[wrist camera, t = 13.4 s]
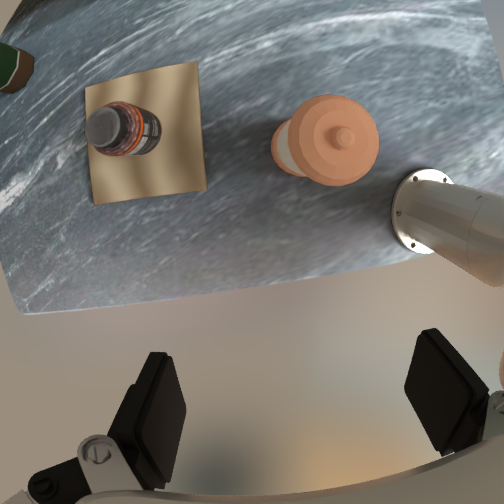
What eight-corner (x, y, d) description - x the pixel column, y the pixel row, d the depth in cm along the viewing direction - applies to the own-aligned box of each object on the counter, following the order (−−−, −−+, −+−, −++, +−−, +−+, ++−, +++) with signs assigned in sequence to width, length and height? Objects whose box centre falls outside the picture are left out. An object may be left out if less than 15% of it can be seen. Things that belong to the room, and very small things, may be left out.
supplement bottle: (114, 125, 33) (68, 117, 23) (152, 102, 33) (116, 83, 22) (131, 164, 35) (88, 168, 24) (170, 141, 34) (138, 136, 24)
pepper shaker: (285, 184, 37) (319, 209, 19) (260, 133, 35) (271, 108, 17) (335, 161, 36) (409, 168, 18) (311, 111, 34) (367, 72, 16)
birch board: (197, 64, 32) (196, 61, 31) (207, 189, 37) (206, 190, 36) (89, 89, 33) (85, 87, 32) (98, 203, 38) (94, 205, 37)
